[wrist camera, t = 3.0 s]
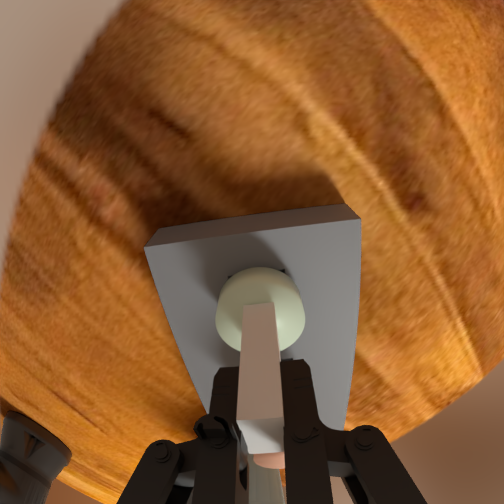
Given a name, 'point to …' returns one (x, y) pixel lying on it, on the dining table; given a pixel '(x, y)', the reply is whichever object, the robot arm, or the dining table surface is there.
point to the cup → (264, 484)
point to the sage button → (256, 292)
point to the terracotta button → (270, 460)
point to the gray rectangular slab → (276, 257)
